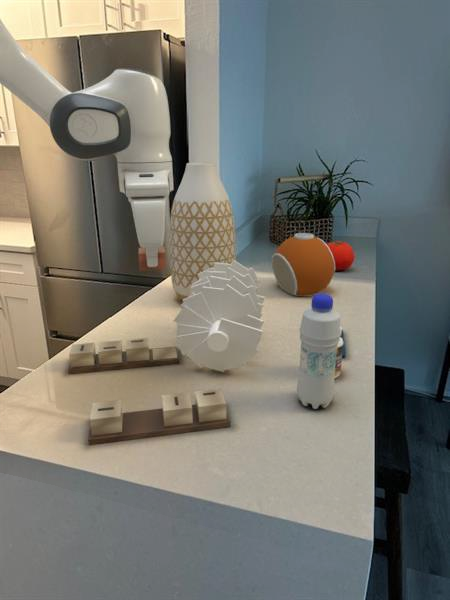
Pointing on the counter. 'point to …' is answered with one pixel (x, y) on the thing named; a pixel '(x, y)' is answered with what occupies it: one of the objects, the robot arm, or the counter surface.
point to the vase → (199, 227)
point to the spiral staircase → (221, 318)
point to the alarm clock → (303, 265)
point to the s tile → (143, 260)
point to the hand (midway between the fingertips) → (152, 261)
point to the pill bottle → (338, 357)
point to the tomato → (341, 254)
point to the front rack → (158, 417)
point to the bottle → (318, 352)
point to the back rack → (118, 356)
